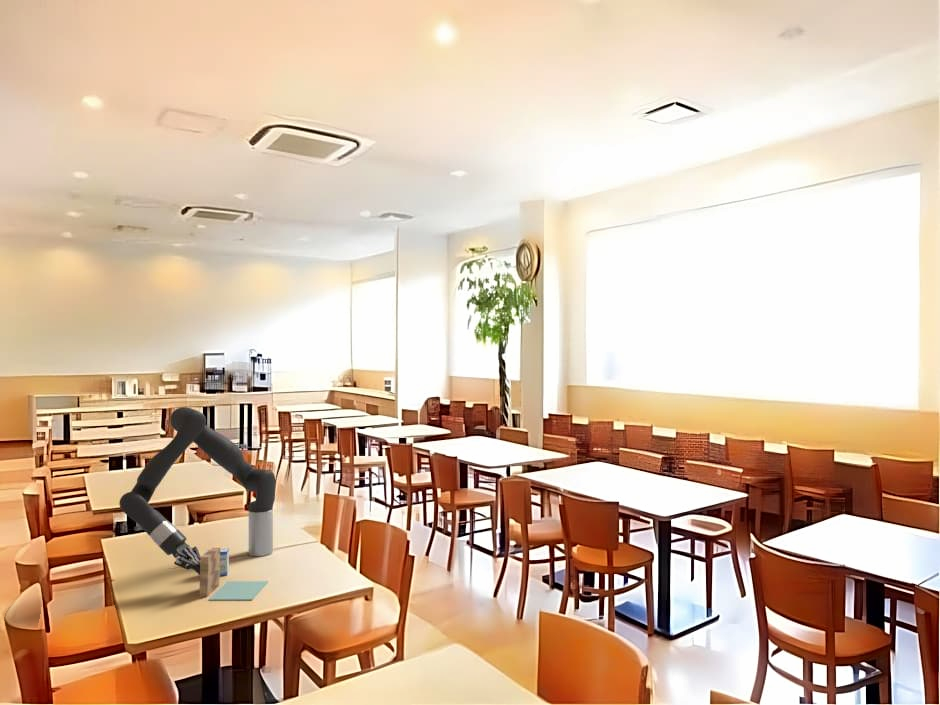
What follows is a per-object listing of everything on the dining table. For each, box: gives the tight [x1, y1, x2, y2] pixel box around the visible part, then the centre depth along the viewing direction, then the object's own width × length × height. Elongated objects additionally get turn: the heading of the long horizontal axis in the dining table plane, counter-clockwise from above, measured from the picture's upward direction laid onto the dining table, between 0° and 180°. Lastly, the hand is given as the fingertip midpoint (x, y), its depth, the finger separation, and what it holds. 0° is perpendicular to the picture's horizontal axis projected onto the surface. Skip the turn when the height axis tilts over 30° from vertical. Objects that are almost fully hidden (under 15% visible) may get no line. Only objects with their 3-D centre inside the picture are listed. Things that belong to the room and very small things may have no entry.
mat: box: [208, 580, 269, 602], centre depth 211 cm, size 16×14×1 cm
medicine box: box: [204, 548, 230, 577], centre depth 227 cm, size 8×4×9 cm, turn 105°
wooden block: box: [198, 547, 221, 598], centre depth 211 cm, size 10×3×13 cm, turn 0°
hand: (204, 573), depth 211 cm, fingers closed
